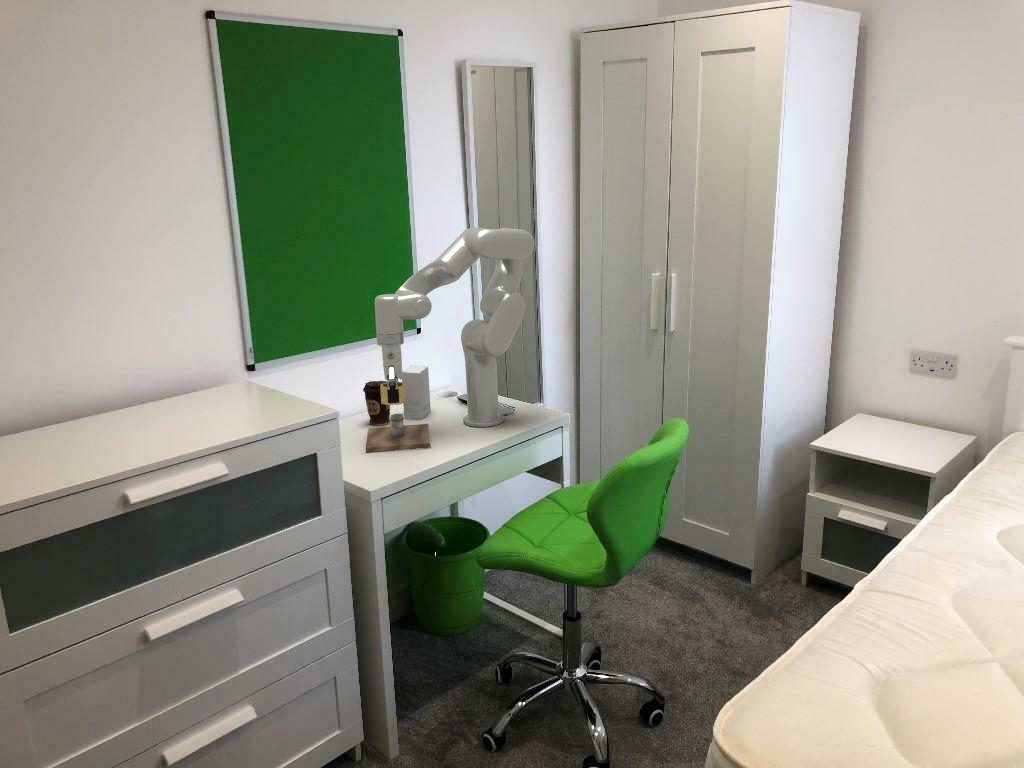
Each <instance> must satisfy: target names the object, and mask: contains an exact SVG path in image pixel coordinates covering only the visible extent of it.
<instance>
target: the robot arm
mask: <svg viewBox="0 0 1024 768" xmlns="http://www.w3.org/2000/svg"><path fill="white" fill-rule="evenodd" d="M534 249H535V239H534V237H533V235H532V234H531V232H529V231H528V230H525V229H520V228H512V227H511V228H510V227H500V228H497V229H493V228H485V227H484V228H483V227H469V228H467V229H465V230H464V231H462V233H460V235H459V236H457V237H456V239H455V240H454V241H453V242H452V243H451V244H450V245H449V246H447V248H445V250H444V251H443V252H442V253H441V254H440V255H439V256H438V257H437V258H436V259H434V260H433V261H431V262H430V263H429V264H427V265H425V266H424V267H422V268H421V269H419V270H417V271H416V272H415V273H413V274H412V275H411V276H410V277H409V278H408V279H407V280H406V281H405V282H403V284H402V285H401V286H400V287H399V288H398V289H397V290H396V291H395V292H394V293H386V294H380V295H377V296H376V297H375V298H374V313H375V329H376V332H375V333H376V342H377V343H376V345H377V346H380V347H381V353H382V355H381V356H382V368H383V375H384V379H385V381H387V382H388V389H387V396H388V403H399V389H398V384H397V382H399V380H400V381H402V371H403V357H402V345H403V344H404V343H405V337H404V334H405V333H404V320H422V319H425V318H426V317H427V316H429V315H430V313H431V311H432V307H433V306H432V302H431V300H430V298H429V297H428V294H430V293H431V292H433V291H434V290H436V289H439V288H441V287H444V286H447V285H450V284H453V283H455V282H458V280H460V278H462V276H463V275H465V273H466V272H467V271H468V270H469V269H470V268H471V267H472V266H473V265H474V264H475V263H476V261H478V259H485V260H495V268H494V271H493V273H492V275H491V278H490V280H489V283H488V284H487V287H486V289H485V291H484V292H483V295H482V297H481V298H480V302H479V310H480V312H481V313H482V314H483V316H485V317H487V318H489V319H490V320H489V321H488V320H483V319H472V320H469V321H468V322H467V323H465V324H464V325H463V327H462V329H461V333H460V341H461V345H462V351H463V355H464V366H465V382H466V385H465V386H466V399H467V401H466V402H467V414H466V415H465V416H464V417H463V418H462V420H463V424H464V425H466V426H469V427H473V428H475V427H476V428H486V427H492V426H493V427H494V426H497V425H500V424H502V423H504V421H505V415H506V416H507V415H510V416H511V415H514V414H515V409H514V407H510V408H509V406H504V407H501V406H500V404H499V392H498V391H499V390H498V389H499V388H498V366H497V365H498V364H497V359H496V357H500V356H502V355H503V354H505V352H507V350H508V349H509V347H510V346H511V344H512V343H513V339H514V338H515V336H516V333H517V331H518V329H519V327H520V326H521V323H522V321H523V318H524V317H525V313H526V312H525V311H526V302H525V300H524V297H523V296H522V295H521V294H520V293H519V292H517V291H518V290H519V286H520V283H521V281H522V278H523V273H524V271H523V262H522V260H523V259H526V258H528V257H530V256H531V254H532V253H533V252H534ZM395 382H396V383H395Z"/></svg>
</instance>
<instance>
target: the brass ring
mask: <svg viewBox="0 0 1024 768" xmlns="http://www.w3.org/2000/svg"><path fill="white" fill-rule="evenodd" d="M395 383H396V382H395ZM397 384H398V389H399V403H388V396H387V389H388V381H387V382H386V383H383V384H381V386H380V389H381V404H386V405H390V406H398V405H399V406H400V405H402V404H403V403H406V384H405V383H403V382H402V381H398V382H397Z"/></svg>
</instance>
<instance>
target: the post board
mask: <svg viewBox="0 0 1024 768" xmlns="http://www.w3.org/2000/svg"><path fill="white" fill-rule="evenodd" d="M389 419H390V426H379V427H378V426H377V427H368V429H367V437H366V443H365V453H366V454H368V453H381V452H382V453H383V452H394V451H395V450H397V451H405V450H404V449H410V450H417V449H416V448H423V449H429V448H428V447H431V437H430V425H429V423H420V424H417V423H416V424H406V425H405V423H404V419H405V418H404V413H403V414H402V413H394V414H393V413H392V414H390V417H389Z"/></svg>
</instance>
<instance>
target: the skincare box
mask: <svg viewBox="0 0 1024 768" xmlns="http://www.w3.org/2000/svg"><path fill="white" fill-rule="evenodd" d="M429 376H430V375H429V365H413V364H412V365H409V366H408V367H406V368H405V369H402V379H401V382H403V383H405V384H406V403H403V417H404V419H405V418H410V419H409V420H423V419H424V418H426V417H427V415H429V414H430V413H431V412H432V411H431V410H432V409H431V397H430V396H431V394H430V392H431V391H430V377H429Z"/></svg>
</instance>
